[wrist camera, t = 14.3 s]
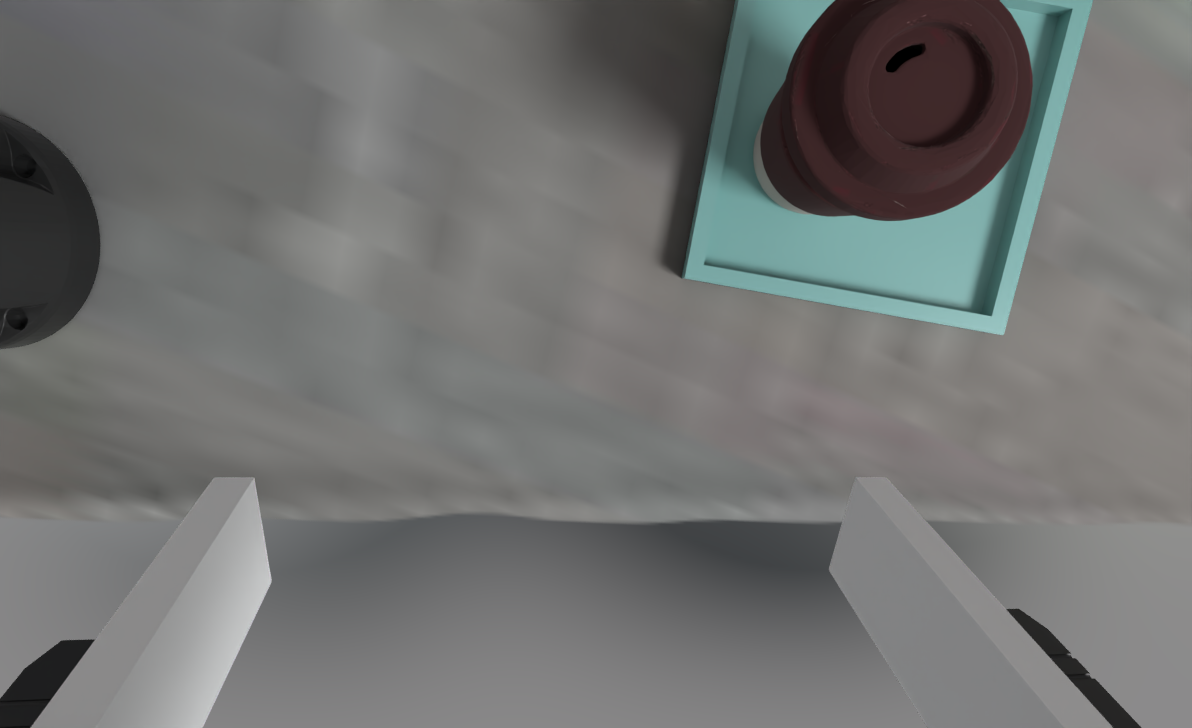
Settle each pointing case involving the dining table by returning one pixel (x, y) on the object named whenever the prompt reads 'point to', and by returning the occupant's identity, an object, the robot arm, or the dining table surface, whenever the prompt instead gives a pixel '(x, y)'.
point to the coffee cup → (896, 109)
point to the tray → (859, 245)
